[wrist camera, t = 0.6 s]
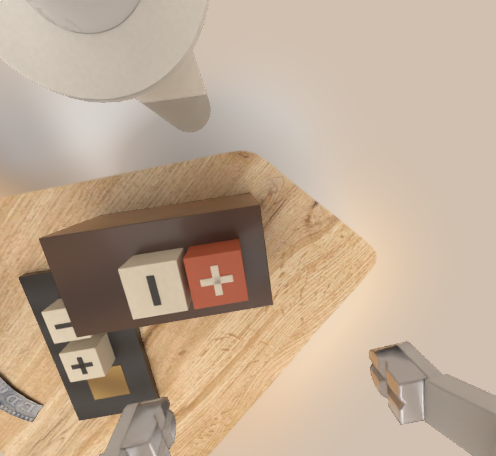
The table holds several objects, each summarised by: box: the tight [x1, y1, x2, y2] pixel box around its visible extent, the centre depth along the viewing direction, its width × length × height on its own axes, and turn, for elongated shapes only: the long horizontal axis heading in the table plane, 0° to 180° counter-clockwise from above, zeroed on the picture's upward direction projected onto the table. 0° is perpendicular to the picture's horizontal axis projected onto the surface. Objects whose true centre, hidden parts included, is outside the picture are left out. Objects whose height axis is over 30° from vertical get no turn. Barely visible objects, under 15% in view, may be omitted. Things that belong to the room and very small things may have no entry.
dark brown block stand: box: [39, 193, 273, 337], centre depth 27 cm, size 10×19×10 cm, turn 98°
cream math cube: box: [59, 333, 116, 382], centre depth 32 cm, size 4×4×3 cm
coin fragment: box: [0, 378, 43, 422], centre depth 35 cm, size 13×5×1 cm, turn 32°
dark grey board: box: [19, 270, 159, 420], centre depth 34 cm, size 24×12×1 cm, turn 8°
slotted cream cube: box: [118, 248, 192, 320], centre depth 20 cm, size 4×4×3 cm
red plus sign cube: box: [183, 239, 249, 309], centre depth 20 cm, size 4×4×3 cm
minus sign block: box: [41, 298, 93, 344], centre depth 30 cm, size 4×4×3 cm
